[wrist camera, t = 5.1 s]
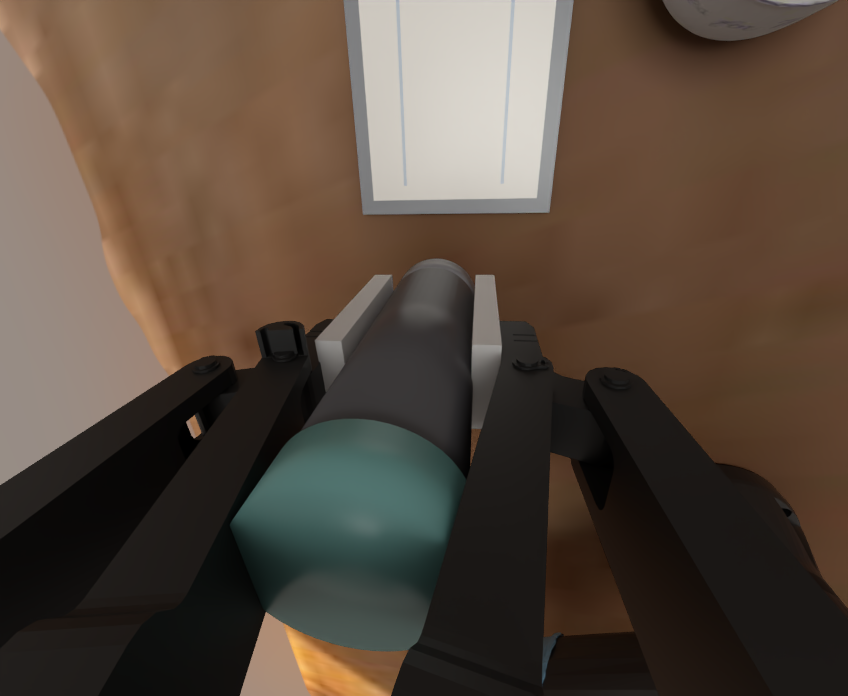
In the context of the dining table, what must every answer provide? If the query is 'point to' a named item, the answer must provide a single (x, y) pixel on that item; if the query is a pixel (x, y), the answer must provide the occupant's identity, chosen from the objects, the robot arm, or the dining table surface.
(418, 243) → the dining table surface
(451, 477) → the marker
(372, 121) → the small whiteboard
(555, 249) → the dining table surface
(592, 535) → the dining table surface
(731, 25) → the teacup
